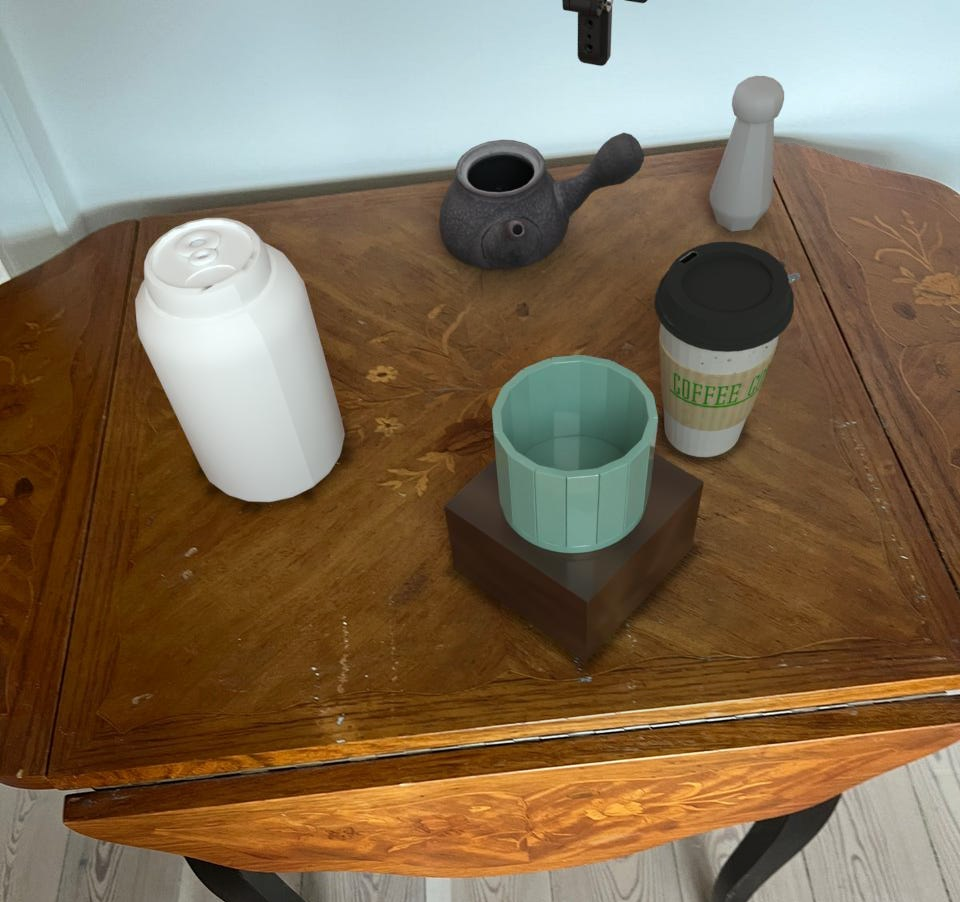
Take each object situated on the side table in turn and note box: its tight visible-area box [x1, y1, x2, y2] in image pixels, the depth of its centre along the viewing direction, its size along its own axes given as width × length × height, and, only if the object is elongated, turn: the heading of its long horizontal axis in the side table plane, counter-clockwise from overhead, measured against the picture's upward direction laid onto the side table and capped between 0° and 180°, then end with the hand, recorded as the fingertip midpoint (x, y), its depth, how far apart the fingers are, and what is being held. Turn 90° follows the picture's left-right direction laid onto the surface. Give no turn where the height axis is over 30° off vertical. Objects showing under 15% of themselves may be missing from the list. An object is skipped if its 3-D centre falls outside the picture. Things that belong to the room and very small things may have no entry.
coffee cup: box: [653, 241, 795, 458], centre depth 77 cm, size 10×10×15 cm
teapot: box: [438, 132, 645, 271], centre depth 92 cm, size 19×15×10 cm
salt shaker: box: [709, 75, 785, 232], centre depth 91 cm, size 6×6×13 cm
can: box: [134, 217, 346, 503], centre depth 77 cm, size 12×12×20 cm
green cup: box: [491, 354, 659, 553], centre depth 67 cm, size 10×10×8 cm
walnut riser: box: [443, 452, 705, 663], centre depth 74 cm, size 13×13×8 cm
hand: (615, 29), depth 72 cm, fingers open, 8 cm apart
